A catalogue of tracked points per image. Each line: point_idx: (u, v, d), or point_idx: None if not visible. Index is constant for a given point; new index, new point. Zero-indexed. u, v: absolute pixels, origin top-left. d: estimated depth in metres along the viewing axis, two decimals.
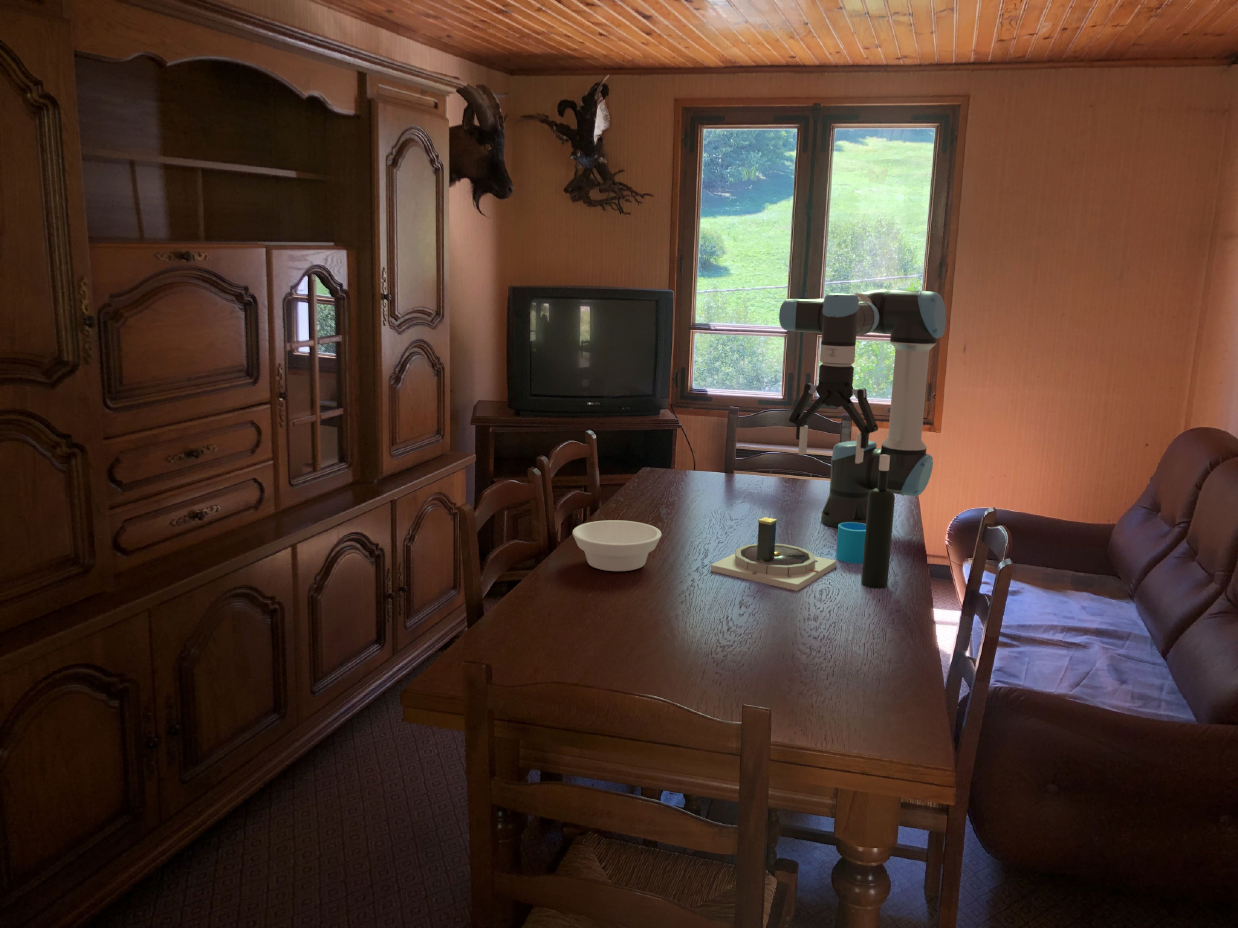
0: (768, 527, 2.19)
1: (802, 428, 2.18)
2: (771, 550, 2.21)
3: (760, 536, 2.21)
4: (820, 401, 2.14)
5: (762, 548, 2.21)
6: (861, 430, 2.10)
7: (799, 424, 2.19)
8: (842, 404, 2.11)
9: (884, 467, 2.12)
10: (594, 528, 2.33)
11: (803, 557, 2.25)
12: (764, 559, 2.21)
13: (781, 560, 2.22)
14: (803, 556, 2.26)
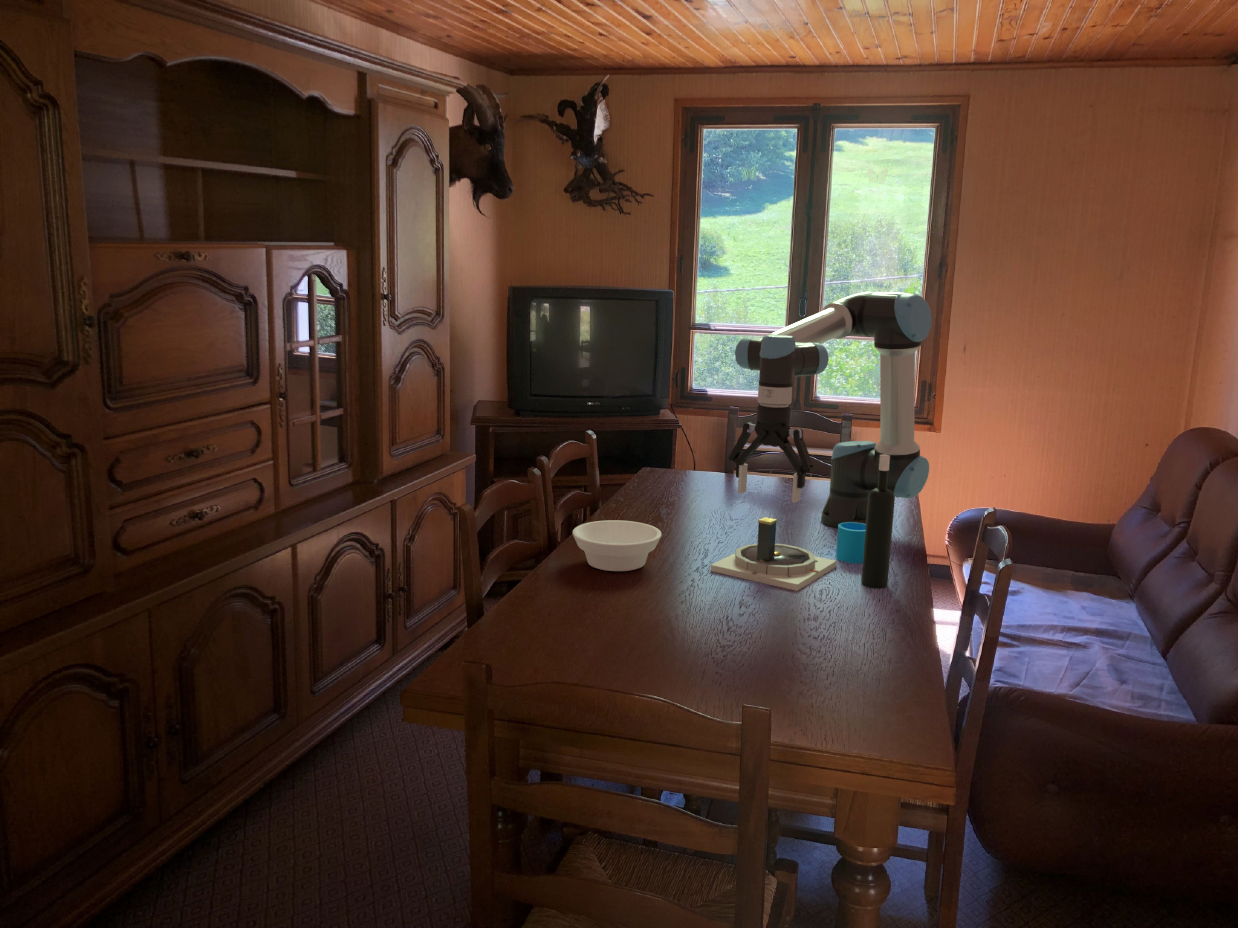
0: (768, 527, 2.19)
1: (741, 466, 2.21)
2: (771, 550, 2.21)
3: (760, 536, 2.21)
4: (758, 440, 2.17)
5: (762, 548, 2.21)
6: (797, 470, 2.13)
7: (738, 462, 2.21)
8: (779, 444, 2.14)
9: (884, 467, 2.12)
10: (594, 528, 2.33)
11: (803, 557, 2.25)
12: (764, 559, 2.21)
13: (781, 560, 2.22)
14: (803, 556, 2.26)
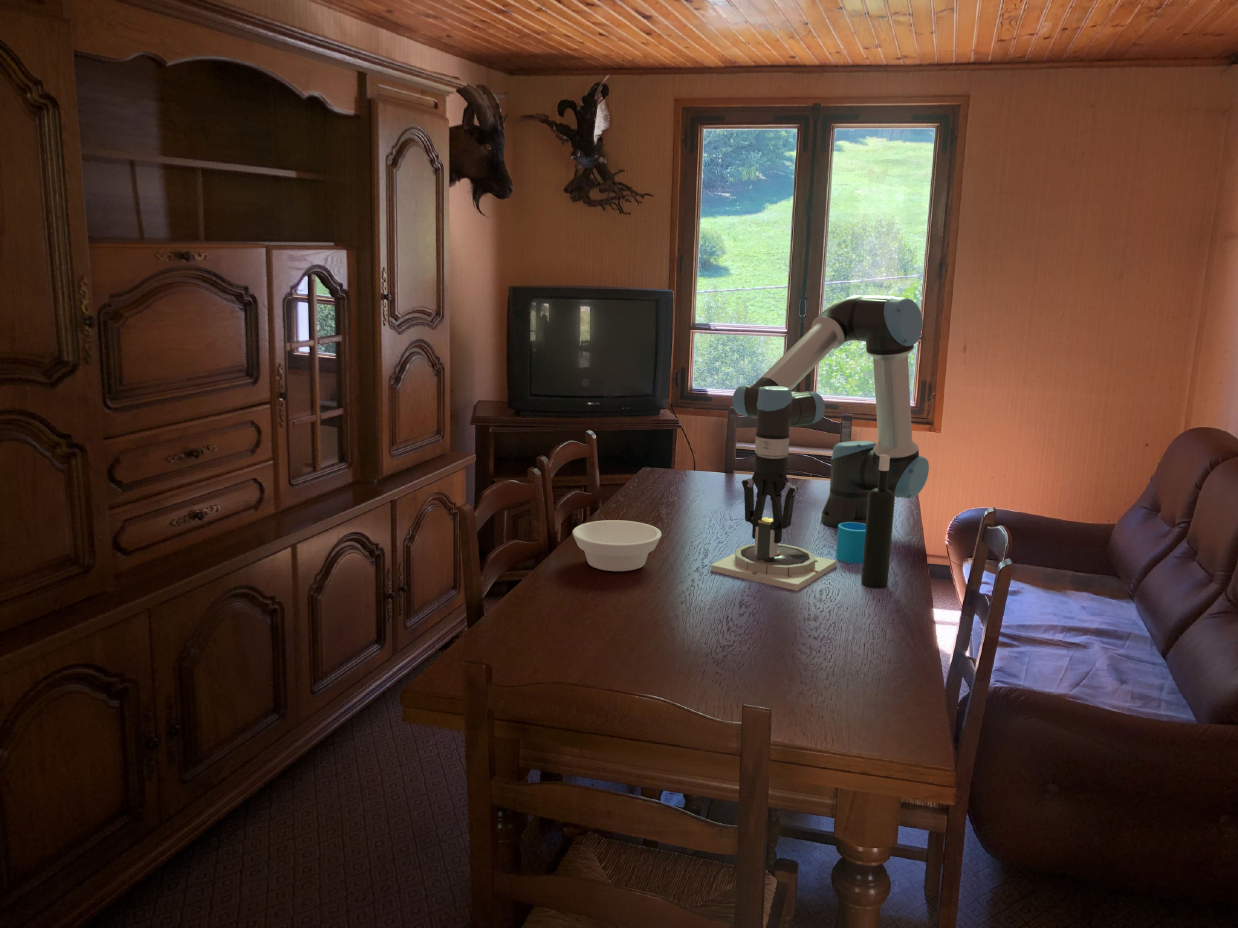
0: (768, 527, 2.19)
1: None
2: None
3: (760, 536, 2.21)
4: (760, 492, 2.19)
5: (762, 548, 2.21)
6: (775, 525, 2.19)
7: (755, 523, 2.21)
8: (771, 495, 2.17)
9: (884, 467, 2.12)
10: (594, 528, 2.33)
11: (803, 557, 2.25)
12: (764, 559, 2.21)
13: (781, 560, 2.22)
14: (803, 556, 2.26)
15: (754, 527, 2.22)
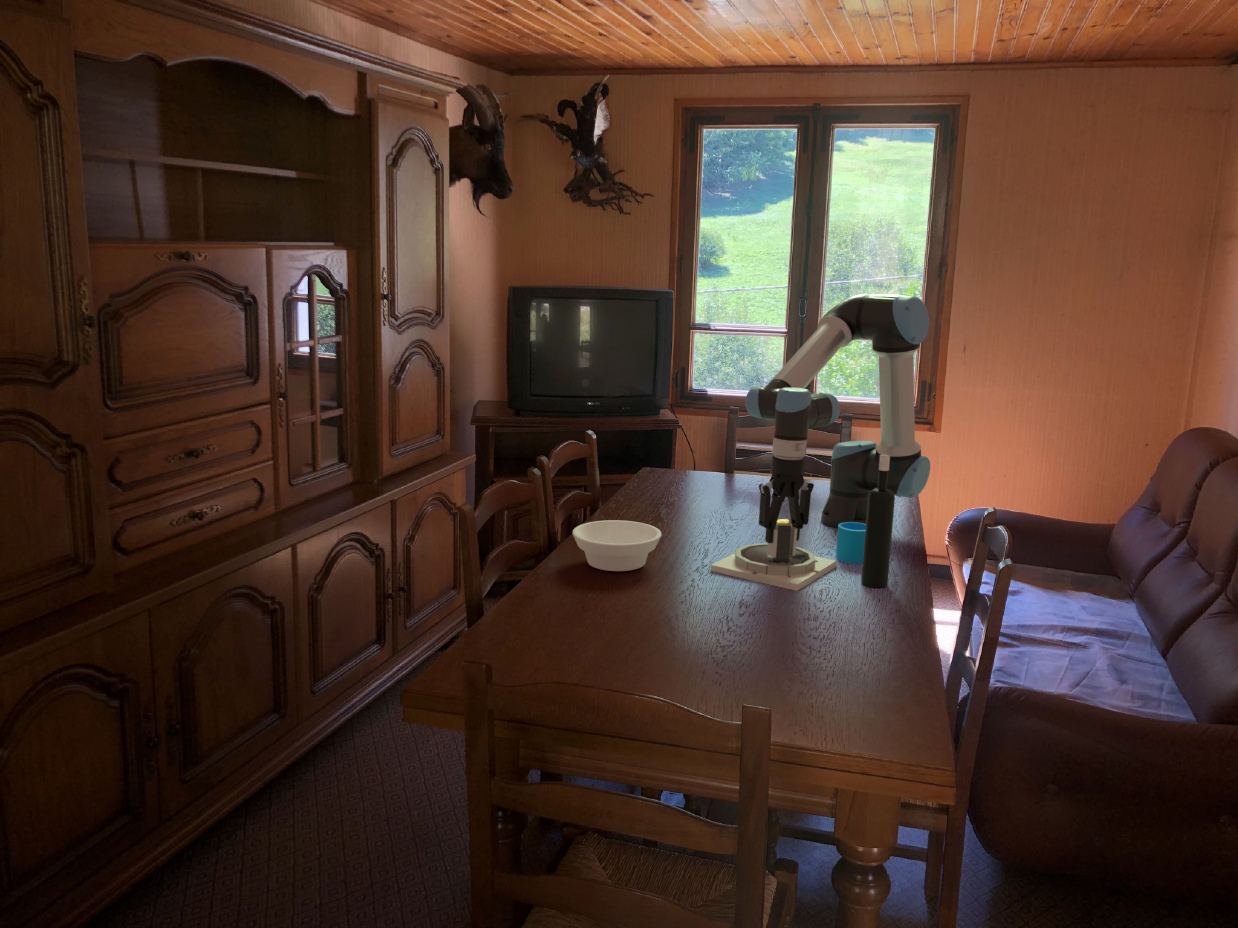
0: (789, 528, 2.19)
1: (777, 531, 2.19)
2: None
3: (780, 539, 2.19)
4: (784, 495, 2.17)
5: (782, 550, 2.20)
6: (798, 523, 2.21)
7: (774, 527, 2.18)
8: (795, 495, 2.18)
9: (884, 467, 2.12)
10: (594, 528, 2.33)
11: (798, 551, 2.30)
12: (784, 560, 2.20)
13: (792, 558, 2.24)
14: None
15: (771, 531, 2.19)
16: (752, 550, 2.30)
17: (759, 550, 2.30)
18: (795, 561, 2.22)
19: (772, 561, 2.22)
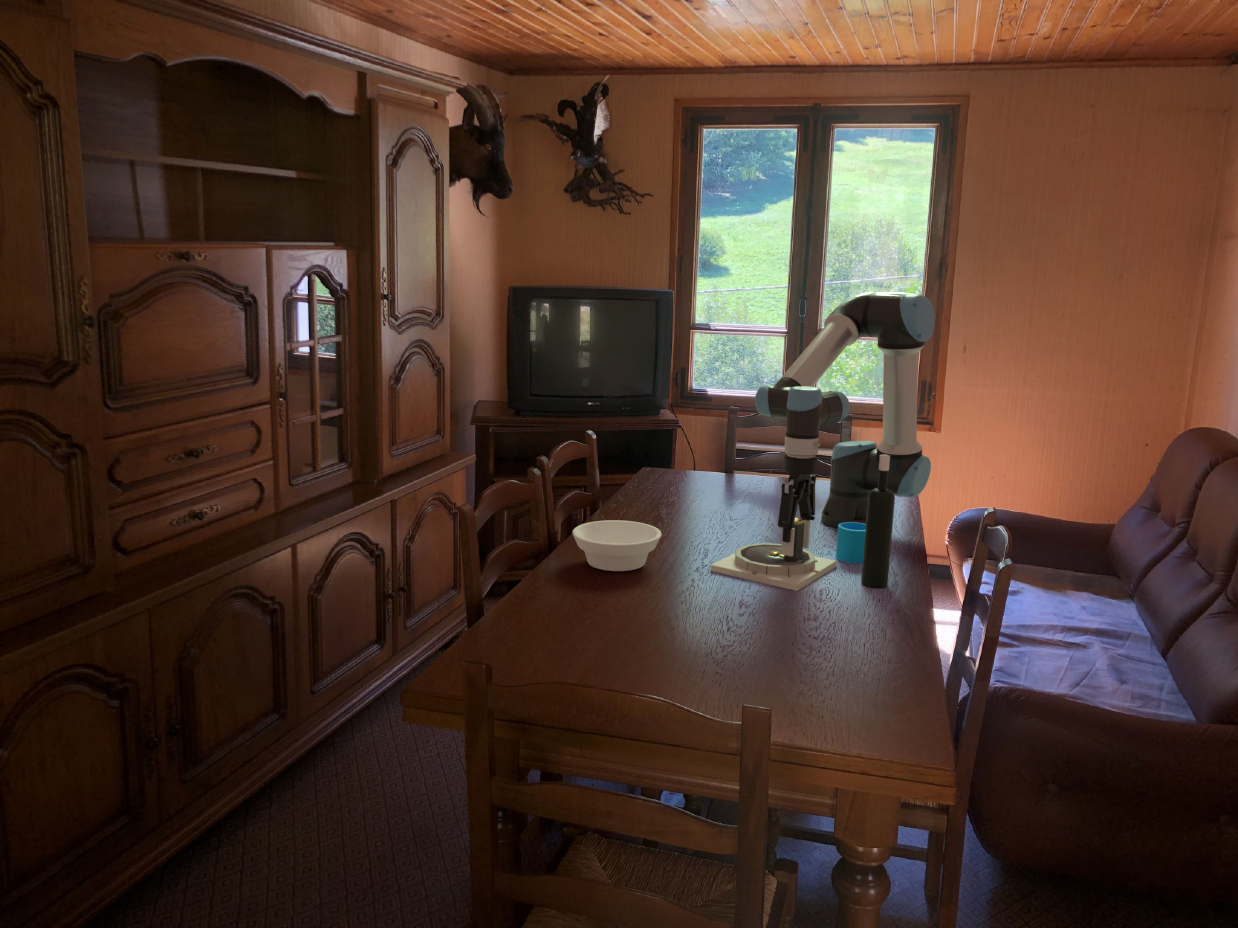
0: (803, 525, 2.22)
1: (794, 529, 2.18)
2: None
3: (798, 537, 2.21)
4: (801, 494, 2.18)
5: (798, 547, 2.22)
6: (810, 516, 2.25)
7: (792, 526, 2.18)
8: (809, 491, 2.21)
9: (884, 467, 2.12)
10: (594, 528, 2.33)
11: None
12: (799, 558, 2.23)
13: None
14: (777, 546, 2.33)
15: (789, 530, 2.18)
16: (750, 555, 2.26)
17: (755, 553, 2.27)
18: (802, 556, 2.26)
19: (789, 561, 2.22)
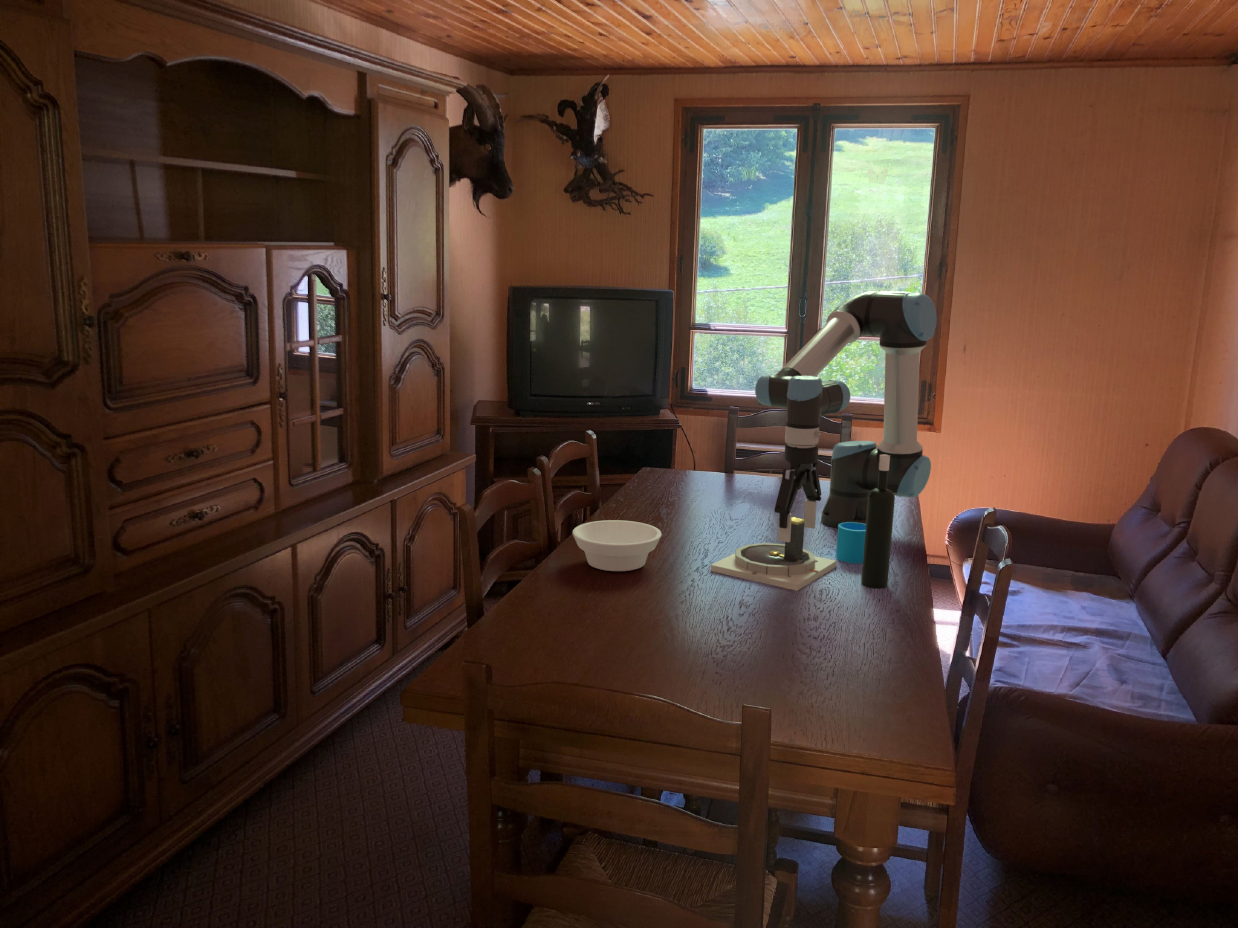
0: (803, 525, 2.22)
1: (791, 515, 2.16)
2: None
3: (798, 537, 2.21)
4: (801, 483, 2.17)
5: (798, 547, 2.22)
6: (816, 497, 2.26)
7: (789, 512, 2.15)
8: (811, 479, 2.21)
9: (884, 467, 2.12)
10: (594, 528, 2.33)
11: (781, 547, 2.33)
12: (799, 558, 2.23)
13: None
14: (777, 546, 2.33)
15: (786, 516, 2.15)
16: (750, 555, 2.26)
17: (755, 553, 2.27)
18: (802, 556, 2.26)
19: (789, 561, 2.22)
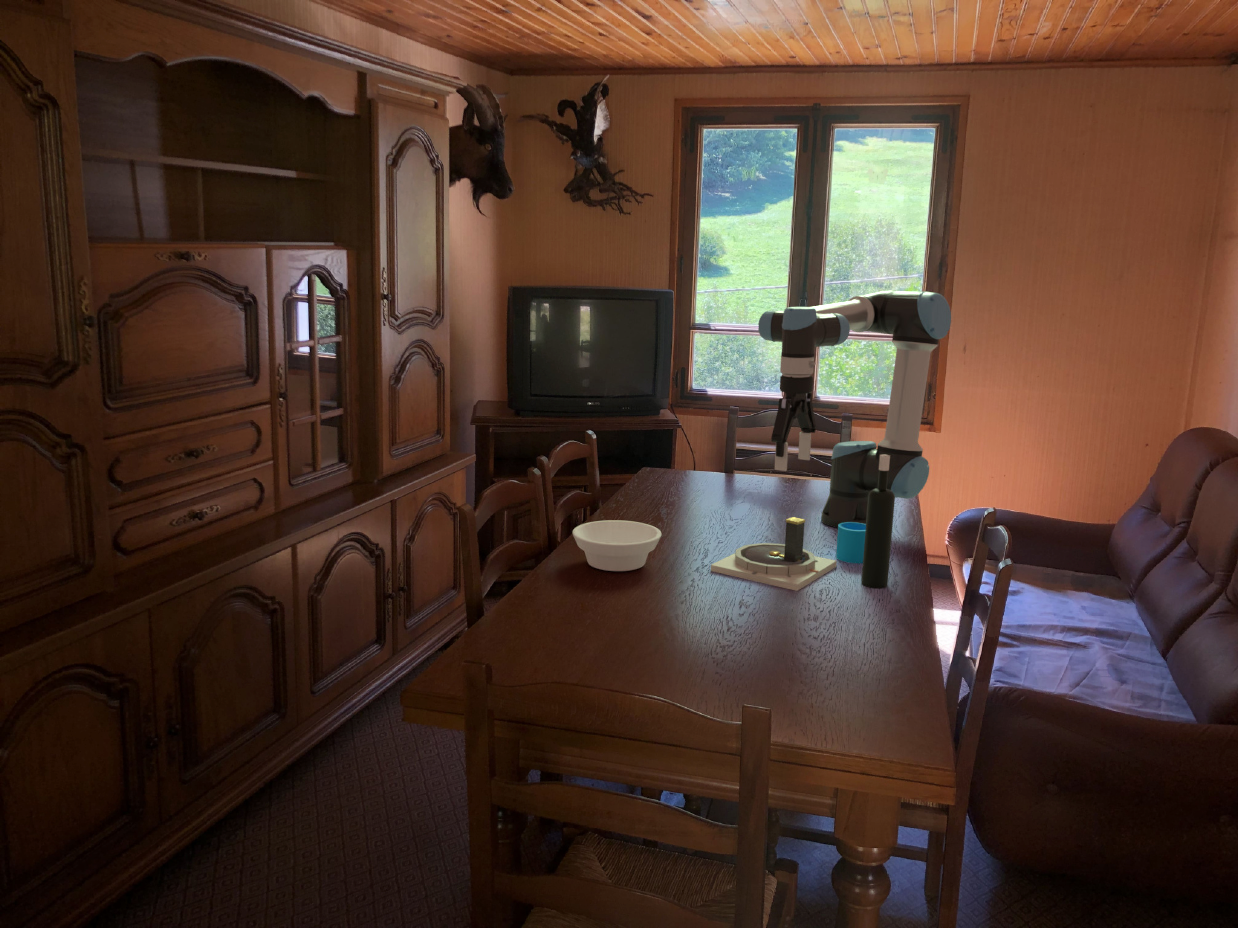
0: (803, 525, 2.22)
1: (787, 444, 2.19)
2: None
3: (798, 537, 2.21)
4: (797, 412, 2.20)
5: (798, 547, 2.22)
6: (811, 429, 2.30)
7: (785, 441, 2.18)
8: (806, 410, 2.24)
9: (884, 467, 2.12)
10: (594, 528, 2.33)
11: (781, 547, 2.33)
12: (799, 558, 2.23)
13: None
14: (777, 546, 2.33)
15: (782, 445, 2.18)
16: (750, 555, 2.26)
17: (755, 553, 2.27)
18: (802, 556, 2.26)
19: (789, 561, 2.22)
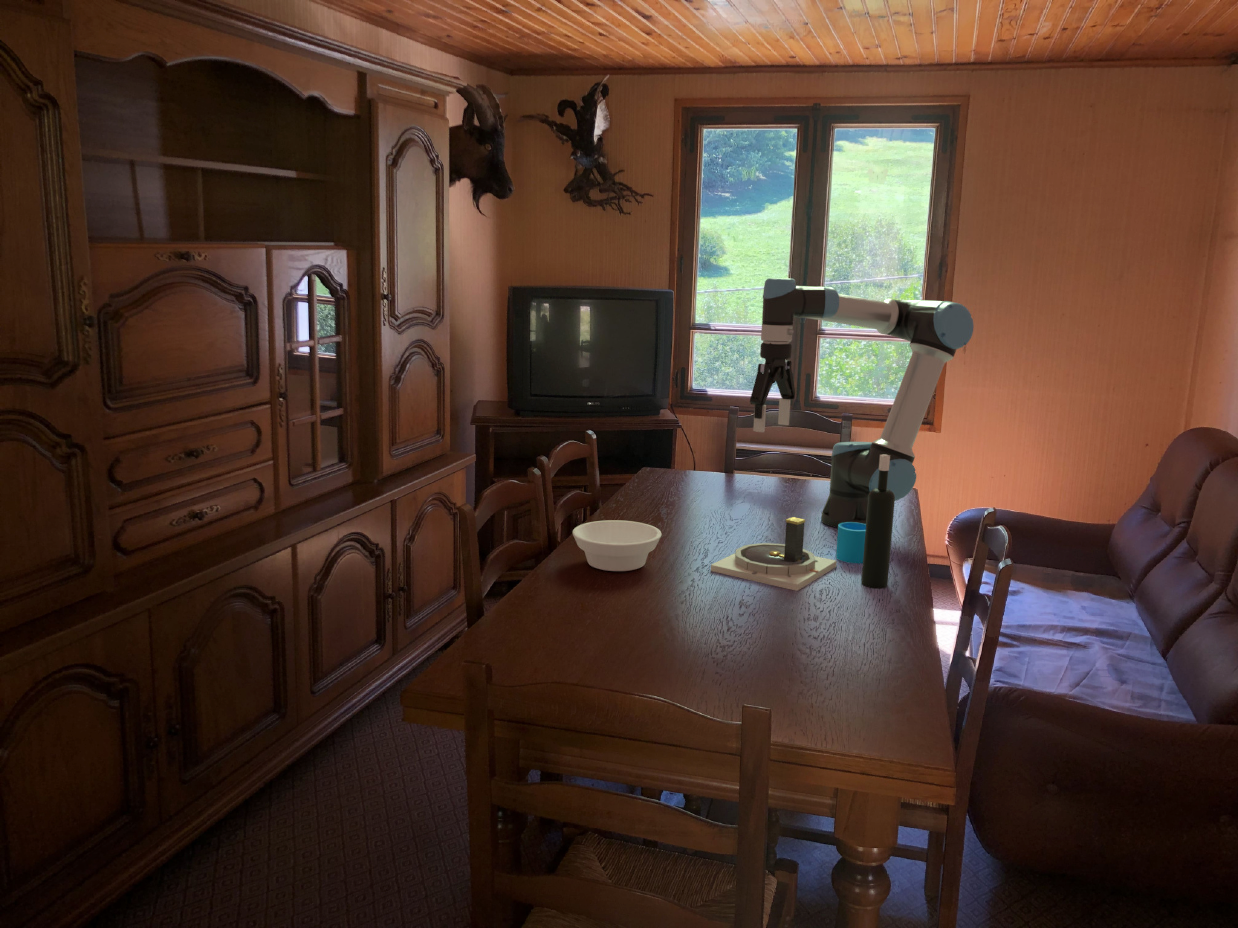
0: (803, 525, 2.22)
1: (765, 406, 2.31)
2: None
3: (798, 537, 2.21)
4: (776, 377, 2.33)
5: (798, 547, 2.22)
6: (790, 396, 2.42)
7: (763, 403, 2.31)
8: (785, 376, 2.37)
9: (884, 467, 2.12)
10: (594, 528, 2.33)
11: (781, 547, 2.33)
12: (799, 558, 2.23)
13: None
14: (777, 546, 2.33)
15: (761, 407, 2.31)
16: (750, 555, 2.26)
17: (755, 553, 2.27)
18: (802, 556, 2.26)
19: (789, 561, 2.22)
